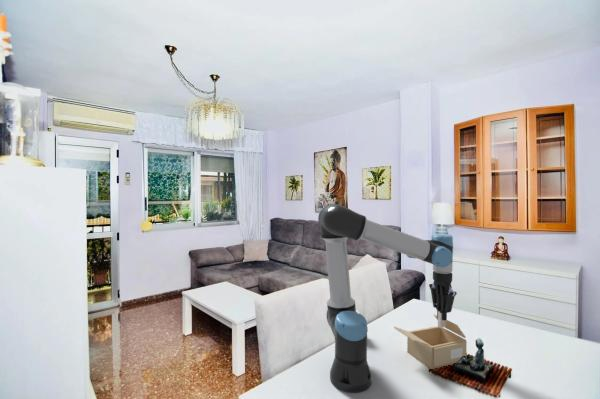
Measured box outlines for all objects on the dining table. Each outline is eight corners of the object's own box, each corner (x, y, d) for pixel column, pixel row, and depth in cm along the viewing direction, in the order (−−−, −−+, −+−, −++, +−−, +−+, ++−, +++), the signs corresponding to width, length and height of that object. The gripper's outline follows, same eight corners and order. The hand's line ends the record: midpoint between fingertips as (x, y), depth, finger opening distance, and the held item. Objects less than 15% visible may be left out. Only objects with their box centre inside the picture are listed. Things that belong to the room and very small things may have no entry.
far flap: (465, 338, 124) (456, 326, 122) (441, 325, 136) (433, 314, 134) (465, 337, 124) (457, 324, 122) (442, 324, 136) (434, 313, 134)
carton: (433, 371, 116) (433, 348, 116) (406, 351, 131) (406, 331, 131) (467, 363, 122) (468, 341, 122) (438, 344, 137) (438, 325, 137)
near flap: (428, 346, 118) (413, 341, 115) (406, 332, 129) (393, 327, 127) (428, 344, 118) (414, 339, 115) (407, 331, 129) (394, 326, 127)
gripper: (462, 274, 122) (461, 331, 123) (437, 267, 135) (437, 319, 135) (447, 276, 120) (447, 334, 120) (424, 268, 132) (423, 321, 132)
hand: (441, 326), depth 128 cm, fingers closed
